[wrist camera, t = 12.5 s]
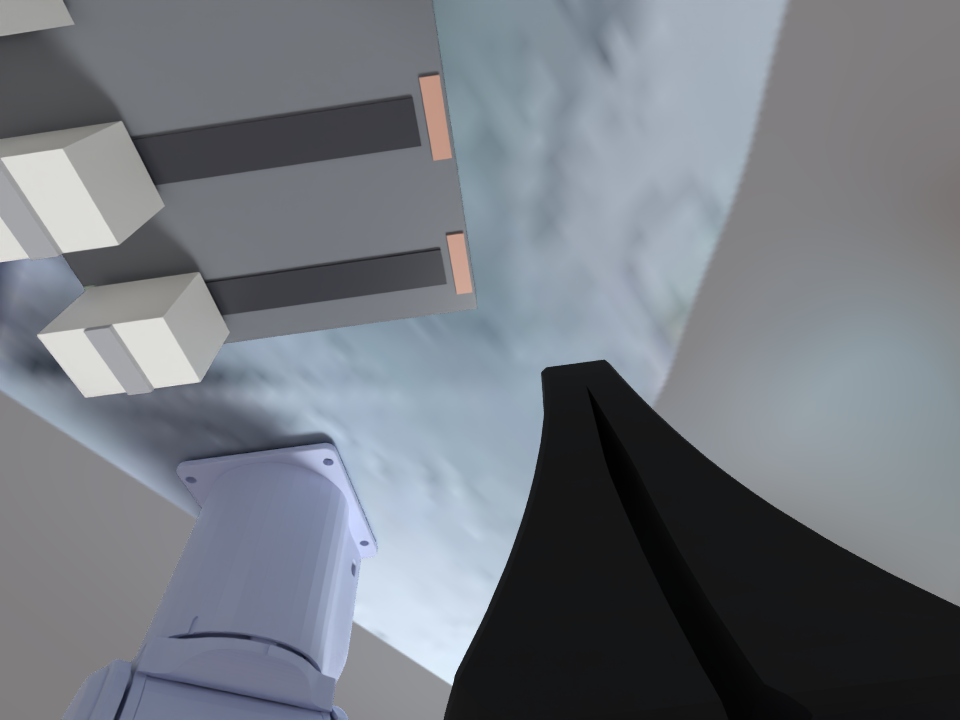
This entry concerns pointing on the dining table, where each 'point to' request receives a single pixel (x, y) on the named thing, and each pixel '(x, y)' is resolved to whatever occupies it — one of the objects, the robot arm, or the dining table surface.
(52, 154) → the block
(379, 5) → the panel
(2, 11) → the block
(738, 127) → the dining table surface
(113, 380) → the block
